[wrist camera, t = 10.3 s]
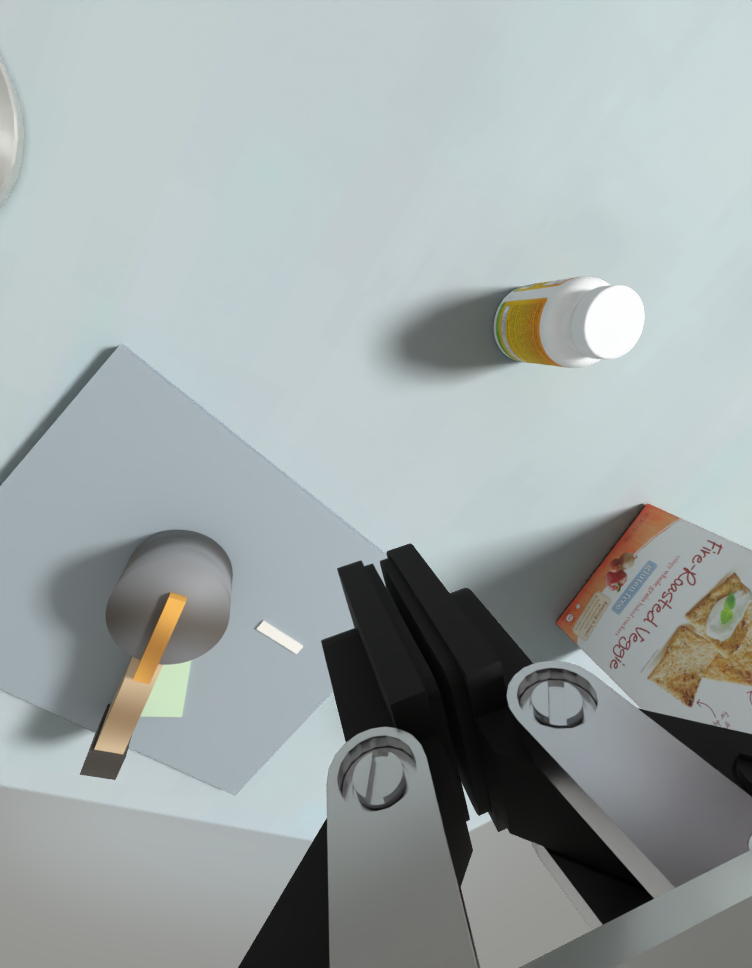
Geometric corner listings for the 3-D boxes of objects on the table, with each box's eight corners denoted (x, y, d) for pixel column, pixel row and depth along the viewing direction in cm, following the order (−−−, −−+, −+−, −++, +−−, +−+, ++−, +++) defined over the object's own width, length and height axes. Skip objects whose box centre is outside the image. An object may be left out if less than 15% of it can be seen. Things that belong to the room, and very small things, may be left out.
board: (-112, 622, 32) (-127, 634, 31) (123, 345, 30) (118, 345, 29) (235, 783, 42) (234, 797, 41) (422, 583, 41) (428, 592, 40)
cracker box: (642, 499, 44) (952, 634, 24) (680, 529, 46) (993, 675, 27) (549, 622, 45) (770, 840, 26) (591, 645, 48) (823, 862, 28)
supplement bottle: (520, 376, 37) (605, 392, 28) (477, 324, 35) (554, 323, 26) (569, 324, 37) (672, 322, 28) (529, 268, 35) (625, 248, 26)
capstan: (147, 515, 32) (127, 551, 27) (248, 549, 35) (247, 588, 29) (64, 714, 35) (32, 781, 30) (163, 733, 37) (149, 798, 32)
